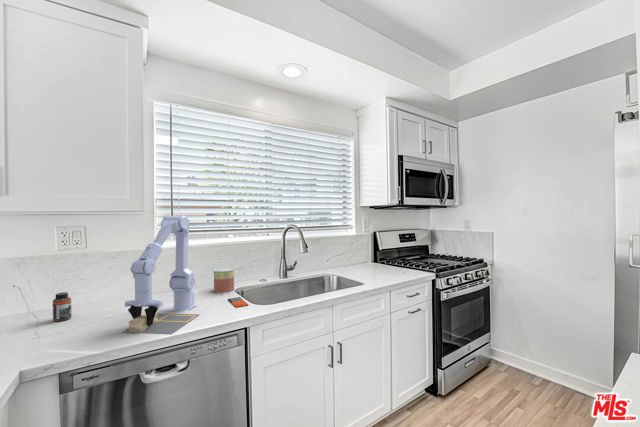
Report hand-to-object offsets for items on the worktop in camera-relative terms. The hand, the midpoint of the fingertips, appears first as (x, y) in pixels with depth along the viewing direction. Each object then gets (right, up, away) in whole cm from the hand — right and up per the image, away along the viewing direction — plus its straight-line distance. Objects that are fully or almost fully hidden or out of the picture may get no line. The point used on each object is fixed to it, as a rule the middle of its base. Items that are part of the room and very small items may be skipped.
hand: (143, 325), depth 116 cm
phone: (+28, -2, +32) cm, 42 cm away
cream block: (0, -1, 0) cm, 1 cm away
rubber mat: (+5, -1, +4) cm, 7 cm away
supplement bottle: (-41, -2, +11) cm, 42 cm away
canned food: (+13, -1, +56) cm, 57 cm away
